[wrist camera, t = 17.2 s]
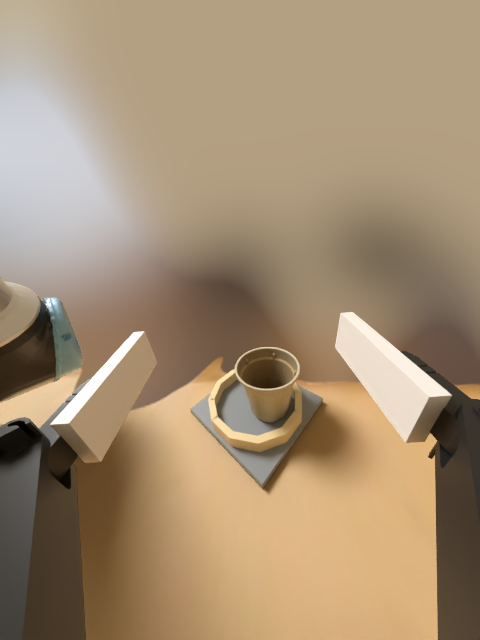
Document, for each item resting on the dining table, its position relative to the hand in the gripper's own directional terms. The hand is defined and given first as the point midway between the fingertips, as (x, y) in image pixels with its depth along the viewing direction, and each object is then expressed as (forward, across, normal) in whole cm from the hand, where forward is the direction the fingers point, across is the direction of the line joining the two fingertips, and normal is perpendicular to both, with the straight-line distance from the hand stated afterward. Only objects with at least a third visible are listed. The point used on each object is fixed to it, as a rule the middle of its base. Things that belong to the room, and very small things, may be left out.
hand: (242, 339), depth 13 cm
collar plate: (+11, 0, -22) cm, 24 cm away
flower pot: (+11, +3, -21) cm, 24 cm away
